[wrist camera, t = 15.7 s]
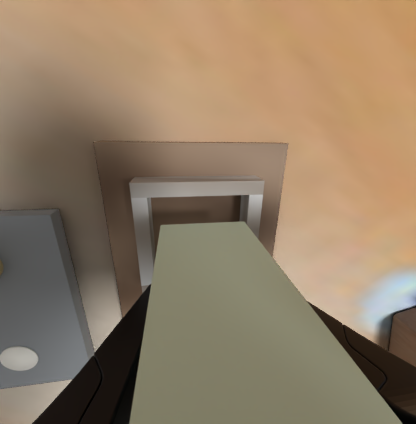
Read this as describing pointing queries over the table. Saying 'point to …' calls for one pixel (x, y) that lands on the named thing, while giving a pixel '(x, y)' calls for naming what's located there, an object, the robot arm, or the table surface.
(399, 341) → the wooden block
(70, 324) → the board
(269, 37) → the table surface
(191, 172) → the build board
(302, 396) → the peg
